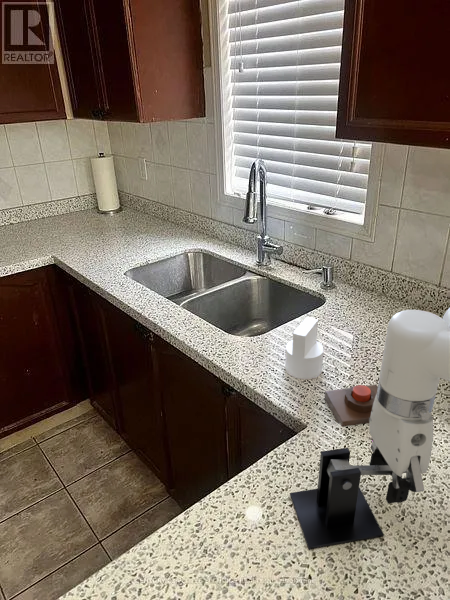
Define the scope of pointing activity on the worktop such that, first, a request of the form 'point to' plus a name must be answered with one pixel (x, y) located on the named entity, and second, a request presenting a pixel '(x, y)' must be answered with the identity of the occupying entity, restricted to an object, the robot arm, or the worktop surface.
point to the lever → (365, 469)
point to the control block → (350, 406)
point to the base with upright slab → (304, 351)
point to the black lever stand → (335, 507)
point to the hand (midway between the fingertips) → (387, 484)
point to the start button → (361, 393)
